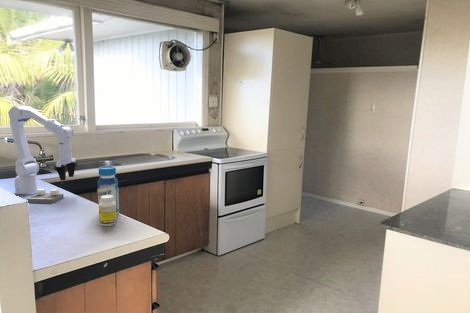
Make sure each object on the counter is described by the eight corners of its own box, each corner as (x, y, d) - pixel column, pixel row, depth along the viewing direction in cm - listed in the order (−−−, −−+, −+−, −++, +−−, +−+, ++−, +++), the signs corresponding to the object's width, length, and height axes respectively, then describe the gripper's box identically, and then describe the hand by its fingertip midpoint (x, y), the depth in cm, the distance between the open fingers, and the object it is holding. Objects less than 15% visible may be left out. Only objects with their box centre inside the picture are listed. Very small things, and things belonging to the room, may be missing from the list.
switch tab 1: (36, 194, 171) (36, 190, 171) (39, 193, 174) (39, 188, 173) (42, 194, 171) (42, 190, 171) (45, 193, 173) (45, 189, 173)
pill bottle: (102, 221, 142) (101, 194, 140) (118, 220, 143) (117, 194, 141) (97, 226, 136) (96, 198, 134) (114, 226, 137) (113, 198, 135)
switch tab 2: (50, 194, 171) (50, 190, 170) (53, 193, 173) (53, 189, 173) (56, 195, 170) (56, 190, 170) (59, 193, 173) (59, 189, 172)
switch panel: (27, 202, 166) (26, 198, 166) (40, 196, 176) (40, 192, 176) (51, 203, 165) (51, 199, 165) (63, 197, 175) (63, 193, 175)
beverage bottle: (123, 212, 154) (122, 166, 151) (109, 217, 146) (107, 170, 143) (108, 209, 157) (106, 164, 154) (94, 215, 149) (91, 168, 146)
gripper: (65, 153, 168) (67, 182, 170) (80, 149, 182) (82, 175, 184) (50, 153, 168) (52, 181, 171) (67, 149, 183) (68, 175, 185)
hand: (67, 178), depth 177 cm, fingers open, 7 cm apart
